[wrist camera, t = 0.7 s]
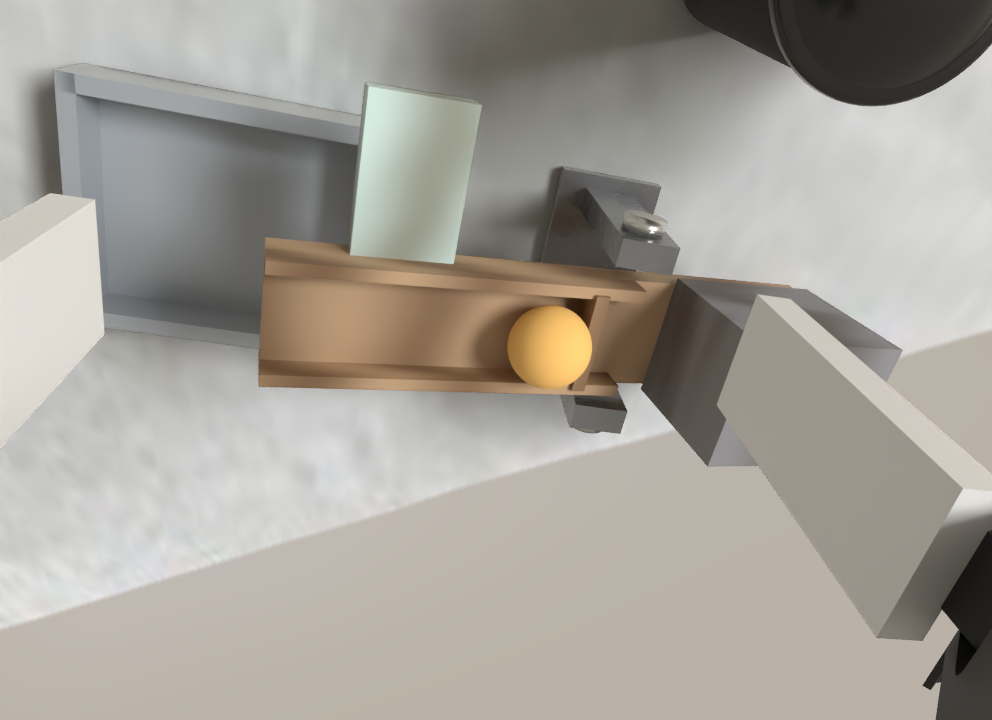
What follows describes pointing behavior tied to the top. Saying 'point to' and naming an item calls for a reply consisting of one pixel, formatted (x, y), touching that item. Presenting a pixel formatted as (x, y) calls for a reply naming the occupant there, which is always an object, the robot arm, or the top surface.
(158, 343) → the top surface
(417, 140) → the lever
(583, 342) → the ball
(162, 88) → the dish
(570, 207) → the stand
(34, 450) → the top surface
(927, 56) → the drinking cup
